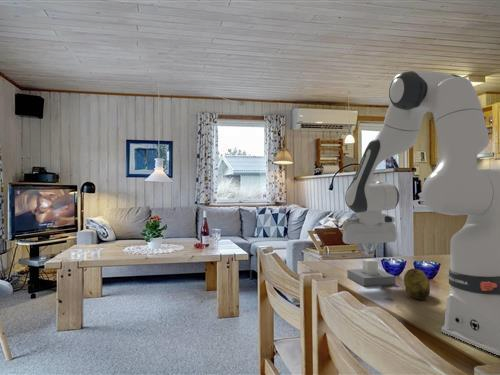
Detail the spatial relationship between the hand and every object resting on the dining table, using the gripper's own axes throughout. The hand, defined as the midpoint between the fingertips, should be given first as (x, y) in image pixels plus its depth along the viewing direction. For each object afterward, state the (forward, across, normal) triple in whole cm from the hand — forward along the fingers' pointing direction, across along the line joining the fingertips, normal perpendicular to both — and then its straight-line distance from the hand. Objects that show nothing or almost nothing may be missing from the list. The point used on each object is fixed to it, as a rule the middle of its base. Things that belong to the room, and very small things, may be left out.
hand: (369, 254), depth 140 cm
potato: (+10, +5, -21) cm, 24 cm away
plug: (+9, 0, 0) cm, 9 cm away
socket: (+10, 0, 0) cm, 10 cm away
